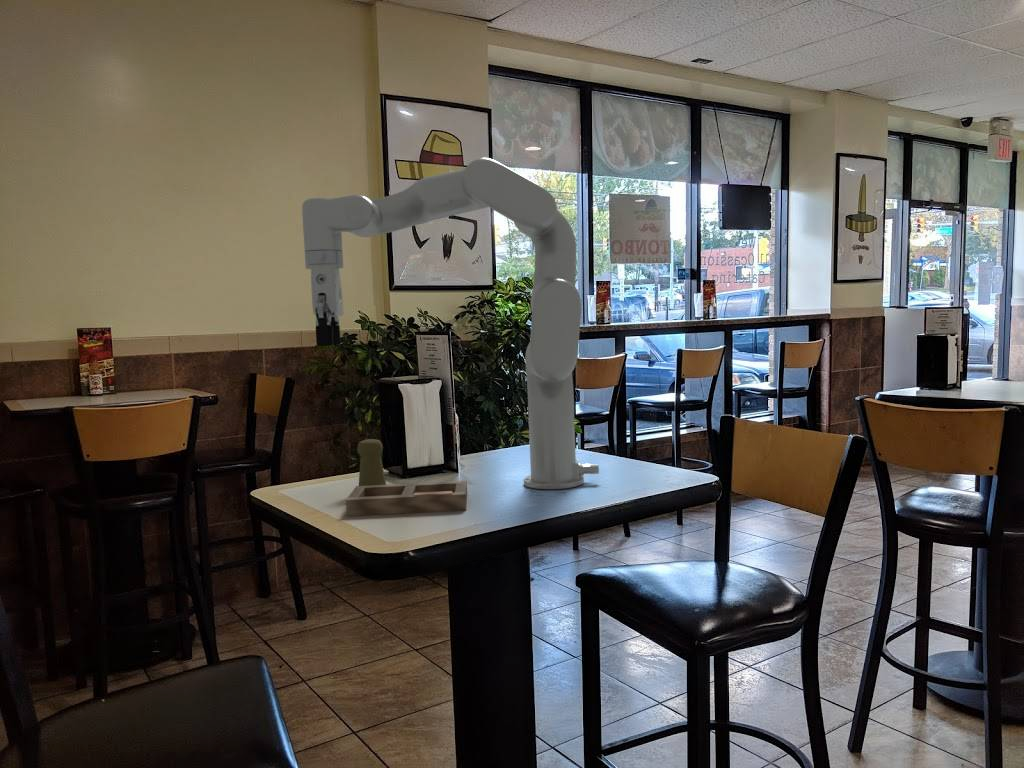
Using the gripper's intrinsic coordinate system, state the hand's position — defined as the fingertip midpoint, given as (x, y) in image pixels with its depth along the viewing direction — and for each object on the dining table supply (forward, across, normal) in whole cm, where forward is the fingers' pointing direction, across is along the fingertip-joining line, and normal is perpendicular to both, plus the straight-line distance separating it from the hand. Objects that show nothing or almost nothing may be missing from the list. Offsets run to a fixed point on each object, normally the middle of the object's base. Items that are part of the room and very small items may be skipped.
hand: (329, 345), depth 163 cm
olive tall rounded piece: (+31, +1, -7) cm, 32 cm away
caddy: (+31, -14, -16) cm, 37 cm away
